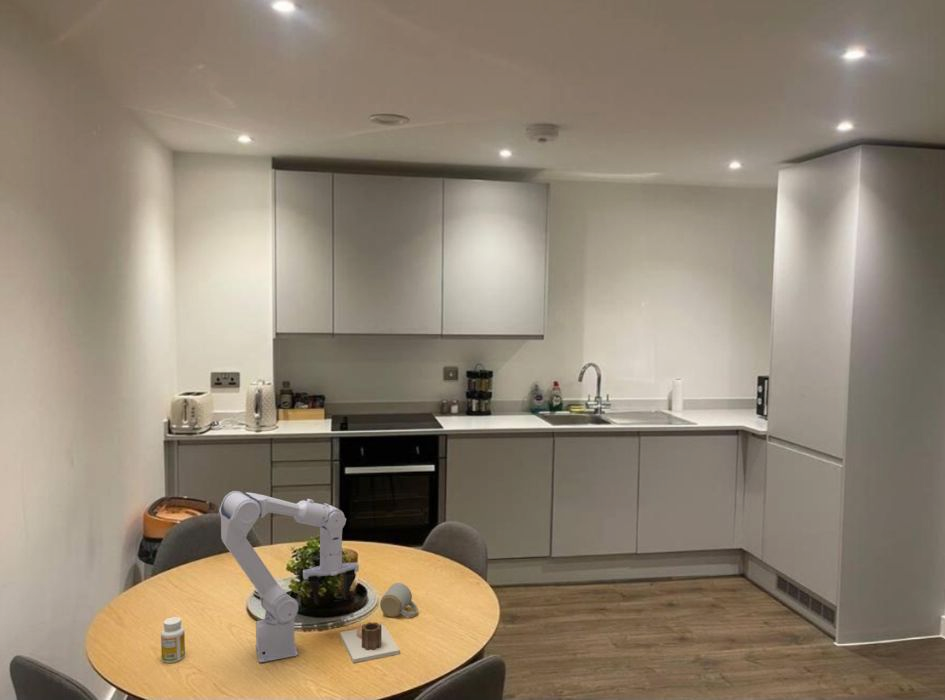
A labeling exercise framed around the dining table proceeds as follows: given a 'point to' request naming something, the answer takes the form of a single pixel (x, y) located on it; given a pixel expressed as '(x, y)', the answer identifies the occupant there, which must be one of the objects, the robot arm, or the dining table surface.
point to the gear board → (359, 654)
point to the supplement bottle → (172, 640)
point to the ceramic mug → (397, 601)
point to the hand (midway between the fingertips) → (331, 600)
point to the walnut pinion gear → (371, 636)
